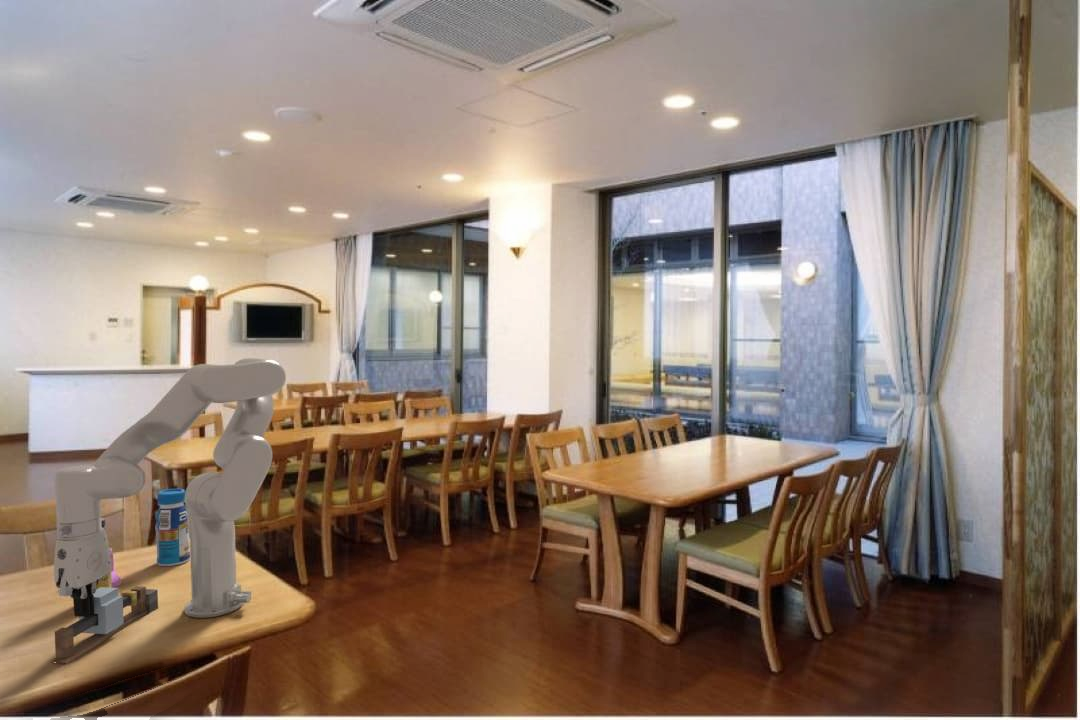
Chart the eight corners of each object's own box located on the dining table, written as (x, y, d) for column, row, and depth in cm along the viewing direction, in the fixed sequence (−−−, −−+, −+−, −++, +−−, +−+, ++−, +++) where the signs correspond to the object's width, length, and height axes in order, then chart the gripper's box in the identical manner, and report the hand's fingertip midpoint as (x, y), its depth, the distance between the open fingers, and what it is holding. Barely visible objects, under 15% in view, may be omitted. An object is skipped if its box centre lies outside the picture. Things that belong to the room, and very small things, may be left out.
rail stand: (158, 607, 157) (157, 580, 157) (69, 664, 132) (67, 631, 131) (142, 607, 158) (141, 580, 158) (50, 663, 132) (49, 631, 132)
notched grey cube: (123, 623, 145) (122, 588, 144) (106, 634, 140) (104, 597, 140) (97, 622, 146) (96, 587, 145) (79, 632, 141) (78, 596, 140)
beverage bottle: (151, 562, 187) (148, 491, 186) (183, 554, 194) (180, 485, 193) (163, 569, 182) (161, 496, 181) (195, 561, 188) (193, 490, 187)
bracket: (86, 577, 177) (84, 551, 176) (110, 572, 181) (109, 546, 180) (97, 591, 167) (96, 564, 167) (123, 585, 171) (121, 558, 171)
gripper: (67, 539, 129) (72, 632, 130) (123, 516, 144) (127, 600, 145) (31, 538, 130) (36, 631, 131) (90, 516, 144) (94, 599, 146)
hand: (84, 614), depth 138 cm, fingers closed
